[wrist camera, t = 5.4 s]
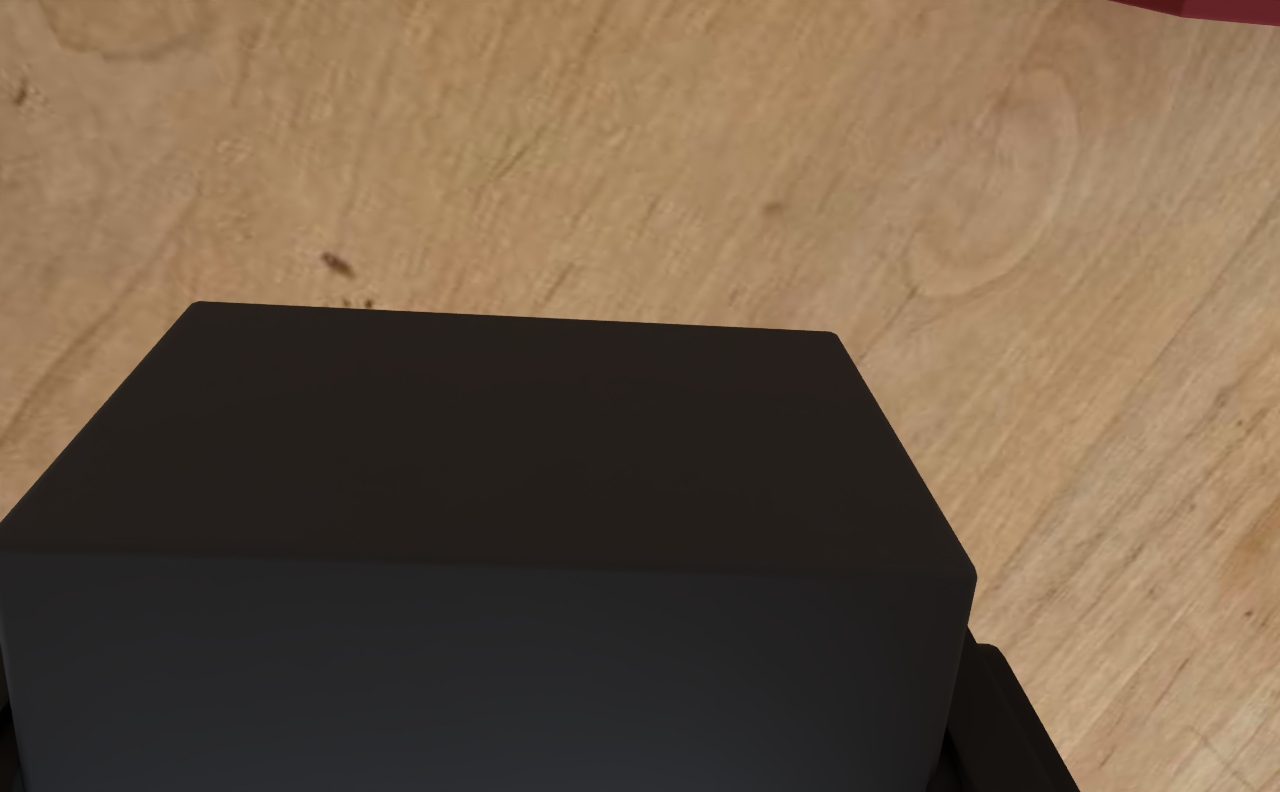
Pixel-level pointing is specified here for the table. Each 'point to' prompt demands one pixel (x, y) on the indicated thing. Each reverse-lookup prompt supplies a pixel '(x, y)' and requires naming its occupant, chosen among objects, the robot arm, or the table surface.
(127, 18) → the table surface
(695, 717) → the dark grey block
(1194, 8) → the dark red block
